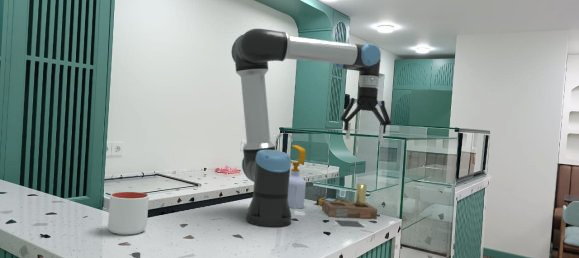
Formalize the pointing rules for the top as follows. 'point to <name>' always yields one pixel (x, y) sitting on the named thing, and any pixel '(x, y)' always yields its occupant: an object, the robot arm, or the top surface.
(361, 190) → the yellow tall cylinder
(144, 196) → the cup
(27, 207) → the top surface
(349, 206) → the socket block
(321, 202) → the electronic device
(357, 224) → the mat
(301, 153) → the soap bottle
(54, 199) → the top surface
